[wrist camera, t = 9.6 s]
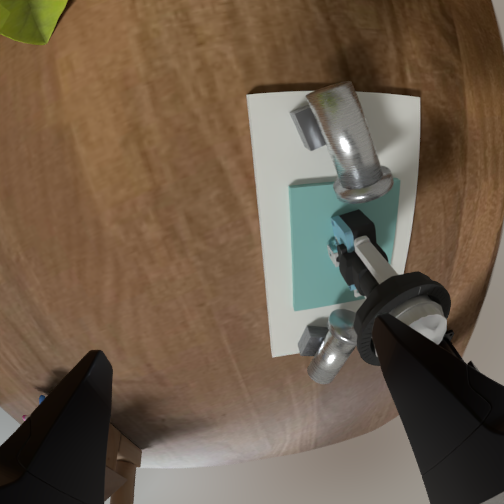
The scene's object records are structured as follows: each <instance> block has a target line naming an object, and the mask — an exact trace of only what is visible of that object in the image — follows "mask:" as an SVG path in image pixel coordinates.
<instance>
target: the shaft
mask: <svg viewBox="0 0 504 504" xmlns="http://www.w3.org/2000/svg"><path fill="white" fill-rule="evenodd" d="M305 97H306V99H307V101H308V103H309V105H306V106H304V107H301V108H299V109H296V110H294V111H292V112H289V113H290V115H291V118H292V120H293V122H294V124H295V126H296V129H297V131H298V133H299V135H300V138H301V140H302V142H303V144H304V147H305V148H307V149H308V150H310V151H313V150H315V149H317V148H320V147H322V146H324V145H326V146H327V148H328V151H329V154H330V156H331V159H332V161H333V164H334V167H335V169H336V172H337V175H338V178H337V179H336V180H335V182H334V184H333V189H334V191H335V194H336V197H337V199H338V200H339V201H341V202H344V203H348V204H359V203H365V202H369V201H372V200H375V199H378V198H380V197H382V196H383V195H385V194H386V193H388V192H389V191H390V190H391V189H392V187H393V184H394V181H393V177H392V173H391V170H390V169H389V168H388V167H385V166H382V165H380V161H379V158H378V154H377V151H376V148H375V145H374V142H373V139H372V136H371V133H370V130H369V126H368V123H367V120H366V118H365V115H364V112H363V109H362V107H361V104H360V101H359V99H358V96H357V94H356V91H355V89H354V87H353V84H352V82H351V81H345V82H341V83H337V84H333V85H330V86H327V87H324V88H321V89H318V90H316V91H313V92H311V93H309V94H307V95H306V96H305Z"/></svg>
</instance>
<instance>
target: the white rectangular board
mask: <svg viewBox="0 0 504 504" xmlns="http://www.w3.org/2000/svg"><path fill="white" fill-rule="evenodd" d="M311 92H313V91H292V92H273V93H259V94H248V95H246V97H247V106H248V115H249V124H250V134H251V143H252V153H253V163H254V173H255V183H256V192H257V203H258V213H259V223H260V233H261V244H262V254H263V265H264V276H265V287H266V298H267V309H268V320H269V331H270V343H271V353H272V357H278V356H284V355H290V354H296V353H300V352H299V348H298V345H297V344H298V342H299V340H300V338H301V336H302V334H303V332H304V330H305V328H306V326H318V327H327V320H328V318H329V316H330V314H331V313H332V312H333V311H334V310H336V309H347V310H350V311H353V312H355V313H356V312H357V310H358V309H359V308H360V306H361V305H362V304H363V302H364V301H365V300H366V299H365V297H364V296H362V295H361V296H359V297H355V296H354V290H352V291H351V290H350V289H349V287H348V285H347V283H346V282H345V280H344V278H343V277H342V275H341V273H340V270H339V266H338V267H335V264H333V262H332V260H331V259H330V257H329V254H328V248H327V244H329V246H330V247H331V249H332V250H333V253H336V252H337V251H336V245H335V239H334V233H333V227H332V224H331V218H332V217H335V216H338V215H342V214H345V213H348V212H352V211H355V210H358V209H359V210H361V211H362V212H363V213H364V214H365V215H366V216H367V217H368V218H369V219H370V220H371V221H372V222H373V223H374V225H375V229H376V241H377V244H378V245H379V246H380V247H381V248H382V249H383V251H384V252H385V253H386V255H387V257H388V263H389V264H390V265H391V267H392V268H393V269H394V270H395V271H396V273H397V274H399V275H401V274H403V273H404V269H405V264H406V258H407V253H408V248H409V242H410V236H411V229H412V222H413V215H414V207H415V199H416V190H417V179H418V166H419V149H420V97H414V96H405V95H396V94H385V93H372V92H356V94H357V96H358V99H359V101H360V104H361V107H362V109H363V112H364V115H365V118H366V120H367V123H368V126H369V130H370V133H371V136H372V139H373V142H374V145H375V148H376V151H377V154H378V158H379V161H380V165H382V166H385V167H388V168H389V169H390V170H391V173H392V177H393V181H394V184H393V187H392V189H391V190H390V191H389V192H388V193H386V194H385V195H383V196H382V197H380V198H378V199H375V200H372V201H369V202H365V203H359V204H348V203H344V202H341V201H339V200H338V199H337V197H336V194H335V191H334V189H333V184H334V182H335V180H336V179H337V178H338V175H337V172H336V169H335V167H334V164H333V161H332V159H331V156H330V154H329V151H328V148H327V146H326V145H324V146H322V147H320V148H317V149H315V150H313V151H310V150H308V149H307V148H305V147H304V144H303V142H302V140H301V138H300V135H299V133H298V131H297V129H296V126H295V124H294V122H293V120H292V118H291V115H290V113H289V112H292V111H294V110H296V109H299V108H301V107H304V106H306V105H309V103H308V101H307V99H306V97H305V96H306V95H307V94H309V93H311ZM330 253H331V252H330ZM357 293H359V292H358V290H357Z"/></svg>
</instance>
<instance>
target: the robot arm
mask: <svg viewBox="0 0 504 504" xmlns="http://www.w3.org/2000/svg"><path fill="white" fill-rule="evenodd" d="M453 334H454V332H453V330H450V331H447V332H445V334H444V336H443V339H442V341H441V342H440V343H439V344H436V343H434V342H433V341H431V340H430V339H428V338H427V337H425V336H424V335H422V334H421V333H419V332H417V331H416V330H414V329H413V328H411V327H410V326H408V325H407V324H405V323H403V322H402V321H400V320H399V319H397V318H396V317H394V316H393V315H391V314H389V313H383V314H379V315H377V316H376V317H375V320H374V325H373V329H372V340H373V343H374V346H375V350H376V353H377V356H378V359H379V363H380V366H381V369H382V373H383V376H384V378H385V381H386V383H387V386H388V388H389V391H390V393H391V395H392V398H393V400H394V403H395V405H396V408H397V410H398V413H399V415H400V418H401V420H402V423H403V425H404V428H405V431H406V433H407V436H408V439H409V441H410V444H411V446H412V449H413V452H414V455H415V458H416V461H417V463H418V466H419V469H420V472H421V475H422V479H423V481H424V485H425V488H426V491H427V494H428V497H429V500H430V504H504V386H503V385H501V384H499V383H497V382H495V381H493V380H492V379H490V378H488V377H486V376H485V375H483V374H482V373H480V372H479V370H478V369H477V367H476V366H475V365H474V364H473V363H472V361H470V362H469V363H468V364H466V363H465V362H464V361H463V359H462V358H461V356H460V355H459V353H458V352H457V350H456V349H455V347H454V346H453V344H452V343H451V342H450V341H451V339H452V337H453ZM112 376H113V369H112V366H111V364H110V362H109V361H108V359H107V357H106V356H105V354H104V353H103V351H101V350H91V351H89V352H88V353H87V354H86V355H85V356H84V357H83V358H82V359H81V360H80V361H79V363H78V364H77V365H76V366H75V367H74V368H73V369H72V370H71V371H70V372H69V373H68V374H67V375H66V376H65V377H64V378H63V379H62V381H61V382H60V383H59V384H58V385H57V386H56V387H55V388H54V389H53V390H52V391H51V392H50V394H49V395H48V396H47V397H46V398H45V399H44V400H43V401H42V402H41V403H40V405H39V406H38V407H37V408H36V409H35V410H34V411H33V412H32V413H31V415H30V416H29V417H28V418H27V419H26V420H25V421H24V423H23V424H22V425H21V426H20V427H19V428H18V429H17V430H16V432H14V433H13V434H12V435H11V436H10V437H9V439H7V440H6V441H5V442H4V443H3V444H2V445H1V446H0V504H104V491H105V469H106V455H107V443H108V433H109V424H110V416H111V402H112Z"/></svg>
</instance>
